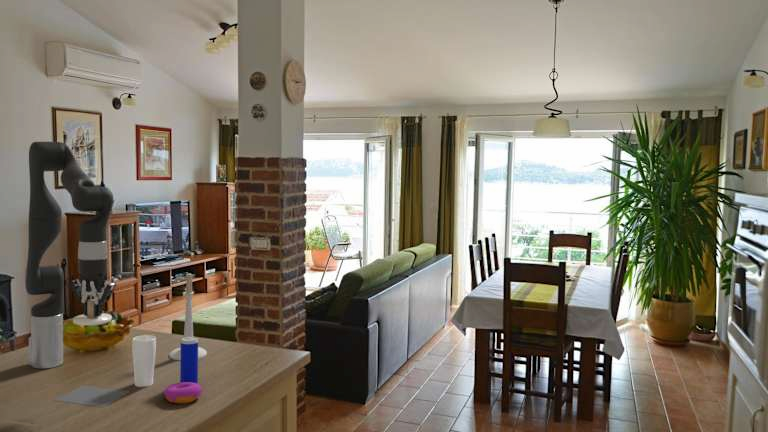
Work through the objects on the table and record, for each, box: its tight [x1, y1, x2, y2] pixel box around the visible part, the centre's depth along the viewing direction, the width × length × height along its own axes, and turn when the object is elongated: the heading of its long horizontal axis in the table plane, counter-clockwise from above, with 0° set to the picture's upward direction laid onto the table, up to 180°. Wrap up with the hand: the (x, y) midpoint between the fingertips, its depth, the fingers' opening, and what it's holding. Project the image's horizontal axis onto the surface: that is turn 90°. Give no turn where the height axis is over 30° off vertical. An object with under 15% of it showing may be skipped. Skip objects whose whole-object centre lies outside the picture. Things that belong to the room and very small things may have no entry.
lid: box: [72, 298, 113, 326], centre depth 172 cm, size 10×10×6 cm
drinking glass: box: [131, 334, 157, 388], centre depth 185 cm, size 7×7×15 cm
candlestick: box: [169, 273, 208, 362], centre depth 215 cm, size 13×13×30 cm
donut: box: [164, 382, 203, 404], centre depth 176 cm, size 10×10×5 cm
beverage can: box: [179, 336, 199, 384], centre depth 186 cm, size 5×5×15 cm
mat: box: [53, 385, 130, 408], centre depth 174 cm, size 16×12×1 cm
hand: (92, 315), depth 172 cm, fingers closed on lid, 2 cm apart
